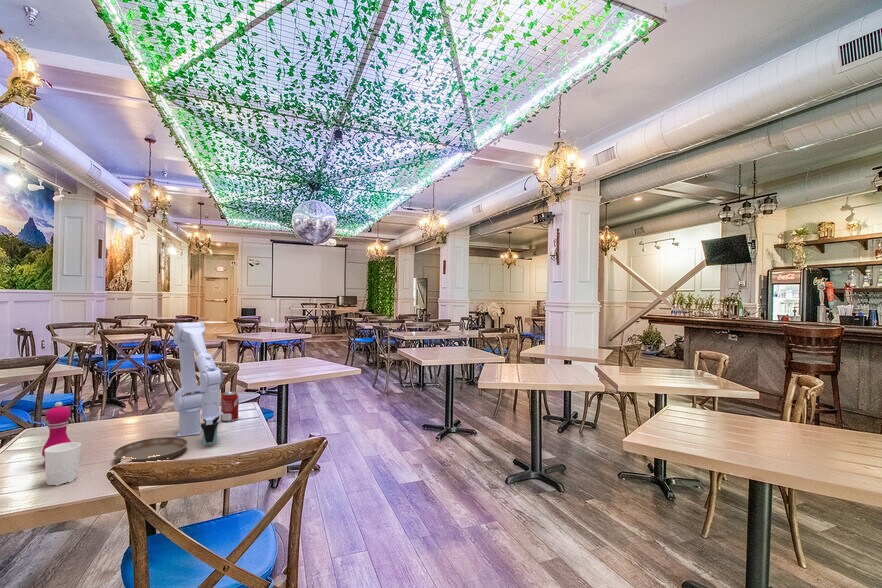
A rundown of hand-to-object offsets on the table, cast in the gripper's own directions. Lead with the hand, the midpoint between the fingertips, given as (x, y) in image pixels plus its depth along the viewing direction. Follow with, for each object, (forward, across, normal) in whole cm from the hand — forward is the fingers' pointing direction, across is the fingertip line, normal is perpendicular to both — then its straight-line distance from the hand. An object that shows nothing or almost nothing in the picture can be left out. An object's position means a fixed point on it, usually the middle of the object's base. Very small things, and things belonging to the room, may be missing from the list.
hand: (210, 438), depth 153 cm
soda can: (+2, +27, -6) cm, 28 cm away
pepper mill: (+2, -2, +43) cm, 43 cm away
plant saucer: (+2, -6, +17) cm, 18 cm away
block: (+2, 0, 0) cm, 2 cm away
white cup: (+2, -18, +37) cm, 41 cm away
